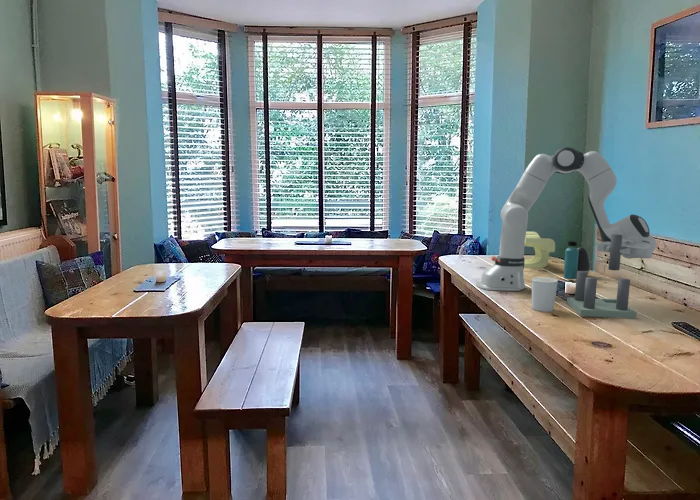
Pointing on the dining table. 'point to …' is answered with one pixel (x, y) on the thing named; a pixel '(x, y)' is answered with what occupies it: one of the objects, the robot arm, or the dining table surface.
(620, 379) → the dining table surface
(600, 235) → the robot arm
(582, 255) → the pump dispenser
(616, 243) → the stool leg
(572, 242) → the beverage bottle
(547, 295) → the candle holder
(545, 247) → the pale yellow curved piece
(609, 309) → the stool seat
